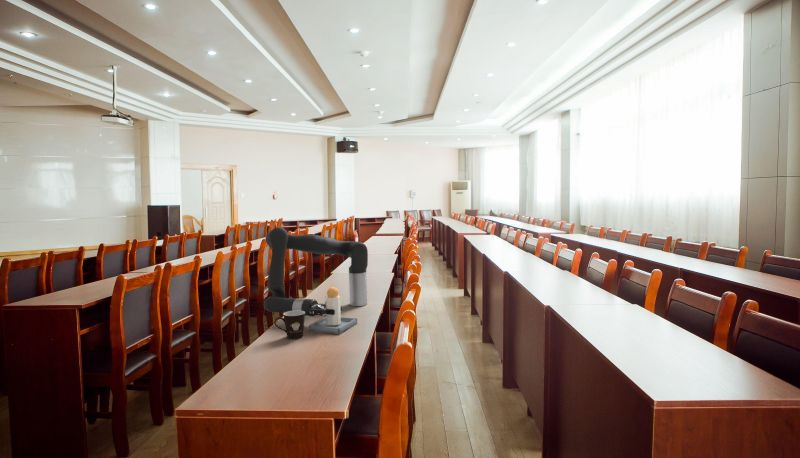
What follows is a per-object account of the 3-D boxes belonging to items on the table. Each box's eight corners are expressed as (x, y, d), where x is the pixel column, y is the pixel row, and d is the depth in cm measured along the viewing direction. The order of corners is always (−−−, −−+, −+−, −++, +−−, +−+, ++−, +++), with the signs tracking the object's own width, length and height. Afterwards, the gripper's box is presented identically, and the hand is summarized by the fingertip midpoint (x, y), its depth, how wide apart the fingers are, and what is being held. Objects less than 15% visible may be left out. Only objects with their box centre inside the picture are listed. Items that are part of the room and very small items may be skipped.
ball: (330, 296, 196) (330, 285, 195) (340, 297, 194) (340, 286, 194) (324, 299, 191) (324, 288, 191) (335, 300, 189) (334, 288, 189)
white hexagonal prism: (331, 320, 197) (330, 294, 196) (342, 322, 195) (342, 295, 194) (324, 324, 192) (323, 297, 191) (336, 325, 190) (335, 298, 189)
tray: (328, 320, 204) (328, 315, 204) (357, 323, 198) (357, 318, 198) (309, 331, 189) (308, 325, 189) (339, 334, 183) (339, 328, 183)
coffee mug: (308, 333, 185) (307, 310, 184) (302, 340, 177) (301, 316, 176) (281, 333, 186) (280, 310, 185) (274, 340, 178) (272, 315, 177)
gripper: (295, 302, 191) (329, 305, 185) (313, 295, 205) (345, 298, 198) (296, 319, 192) (330, 323, 186) (314, 311, 205) (346, 314, 199)
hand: (338, 310), depth 192 cm, fingers closed on white hexagonal prism, 6 cm apart
